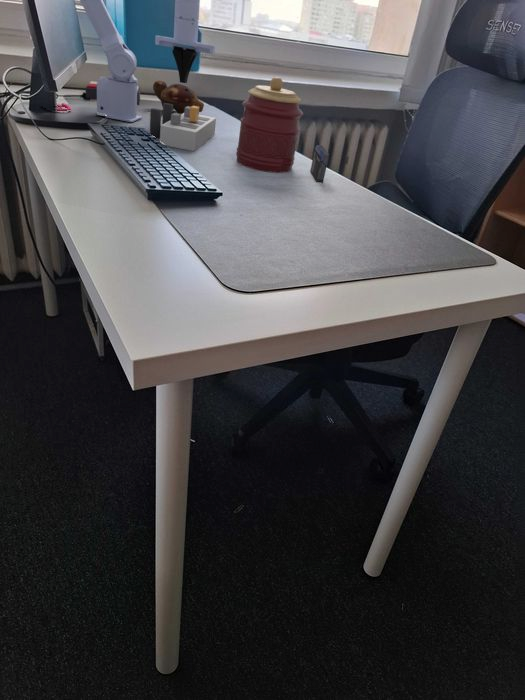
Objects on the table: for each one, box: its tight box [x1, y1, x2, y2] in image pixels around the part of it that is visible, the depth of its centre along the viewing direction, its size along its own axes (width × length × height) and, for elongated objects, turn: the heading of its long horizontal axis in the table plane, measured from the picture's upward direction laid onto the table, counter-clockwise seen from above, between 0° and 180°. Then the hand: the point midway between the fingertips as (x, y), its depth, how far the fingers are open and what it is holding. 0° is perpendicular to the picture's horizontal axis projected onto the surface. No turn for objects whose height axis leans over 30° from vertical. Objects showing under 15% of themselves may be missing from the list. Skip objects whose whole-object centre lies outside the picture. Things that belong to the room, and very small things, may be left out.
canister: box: [235, 76, 304, 173], centre depth 110 cm, size 13×13×18 cm
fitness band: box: [55, 103, 72, 111], centre depth 128 cm, size 8×6×2 cm
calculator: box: [84, 80, 141, 106], centre depth 153 cm, size 11×4×15 cm
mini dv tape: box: [309, 144, 330, 184], centre depth 111 cm, size 8×2×6 cm, turn 4°
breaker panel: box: [159, 106, 217, 152], centre depth 122 cm, size 8×22×6 cm, turn 172°
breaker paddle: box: [189, 106, 200, 122], centre depth 121 cm, size 2×3×3 cm, turn 172°
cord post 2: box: [161, 103, 174, 125], centre depth 127 cm, size 2×2×6 cm
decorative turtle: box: [152, 80, 205, 114], centre depth 148 cm, size 10×15×8 cm, turn 88°
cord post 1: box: [149, 107, 162, 139], centre depth 118 cm, size 2×2×6 cm
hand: (183, 82), depth 130 cm, fingers closed
